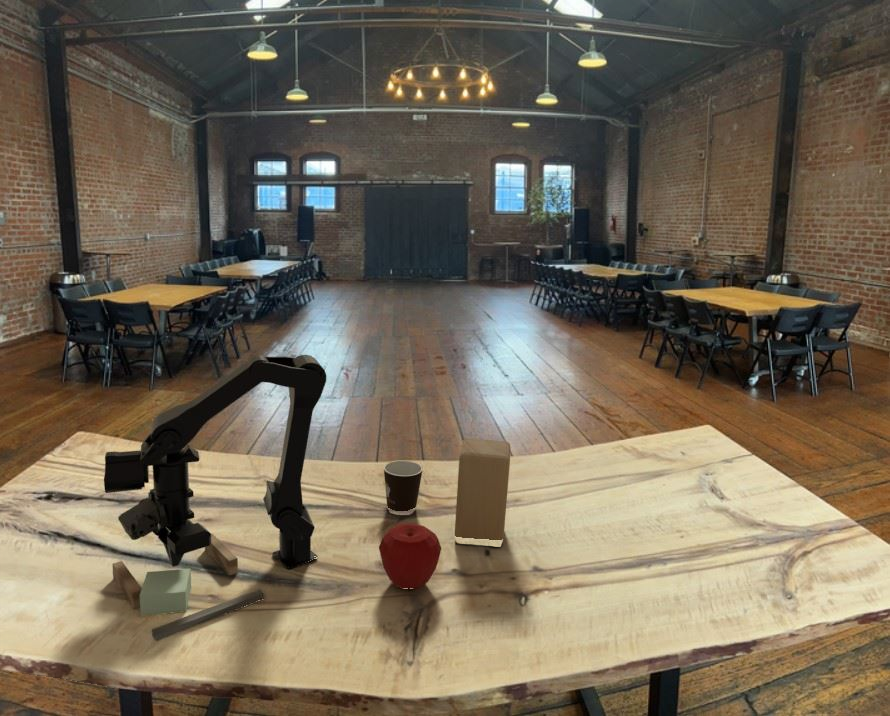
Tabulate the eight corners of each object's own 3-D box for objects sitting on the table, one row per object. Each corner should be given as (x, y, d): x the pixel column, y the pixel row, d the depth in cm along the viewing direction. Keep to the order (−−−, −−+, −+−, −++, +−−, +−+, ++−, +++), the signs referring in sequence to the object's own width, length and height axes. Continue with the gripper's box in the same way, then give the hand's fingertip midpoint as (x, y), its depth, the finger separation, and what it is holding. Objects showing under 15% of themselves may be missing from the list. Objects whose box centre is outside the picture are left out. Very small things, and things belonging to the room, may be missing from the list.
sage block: (186, 613, 112) (185, 591, 111) (140, 617, 111) (139, 595, 110) (191, 588, 119) (190, 568, 118) (148, 592, 117) (147, 571, 116)
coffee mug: (419, 519, 147) (421, 477, 145) (380, 517, 147) (381, 474, 145) (422, 496, 159) (424, 456, 156) (385, 493, 159) (387, 454, 156)
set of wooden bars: (264, 599, 117) (264, 583, 116) (155, 641, 105) (154, 624, 104) (213, 547, 132) (212, 533, 131) (113, 578, 120) (112, 563, 119)
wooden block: (503, 526, 146) (510, 440, 142) (502, 550, 137) (510, 458, 132) (457, 522, 147) (463, 435, 142) (453, 545, 138) (459, 453, 133)
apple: (449, 580, 125) (452, 522, 122) (417, 608, 116) (420, 547, 113) (400, 561, 131) (402, 506, 128) (366, 587, 122) (368, 528, 119)
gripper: (104, 478, 119) (110, 557, 123) (142, 518, 106) (147, 606, 109) (168, 463, 126) (171, 539, 130) (211, 500, 113) (213, 582, 117)
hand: (174, 565), depth 121 cm, fingers closed
